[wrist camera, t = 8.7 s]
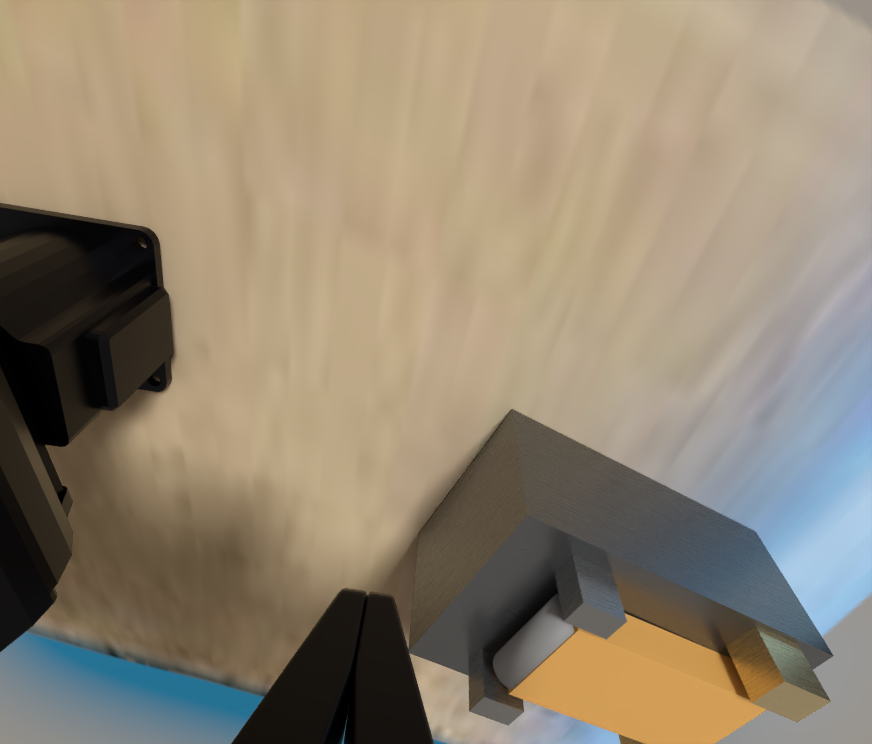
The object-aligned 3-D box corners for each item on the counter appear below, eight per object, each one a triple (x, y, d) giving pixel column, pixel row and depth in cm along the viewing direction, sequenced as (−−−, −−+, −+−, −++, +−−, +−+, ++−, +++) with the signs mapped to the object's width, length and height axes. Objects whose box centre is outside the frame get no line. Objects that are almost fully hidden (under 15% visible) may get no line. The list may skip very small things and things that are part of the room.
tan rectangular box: (488, 647, 20) (491, 687, 19) (552, 582, 18) (559, 622, 17) (675, 718, 22) (689, 759, 21) (749, 666, 20) (769, 708, 19)
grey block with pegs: (418, 533, 26) (403, 707, 19) (512, 409, 22) (535, 566, 15) (640, 629, 29) (699, 812, 22) (755, 531, 25) (869, 713, 18)
